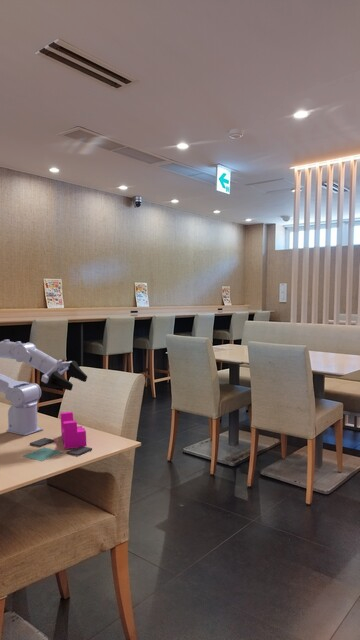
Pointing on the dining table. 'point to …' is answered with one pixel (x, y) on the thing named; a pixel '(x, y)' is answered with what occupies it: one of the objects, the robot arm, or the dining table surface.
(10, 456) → the dining table surface
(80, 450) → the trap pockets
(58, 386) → the robot arm
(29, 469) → the dining table surface
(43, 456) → the pad
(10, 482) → the dining table surface
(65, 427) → the toy block
